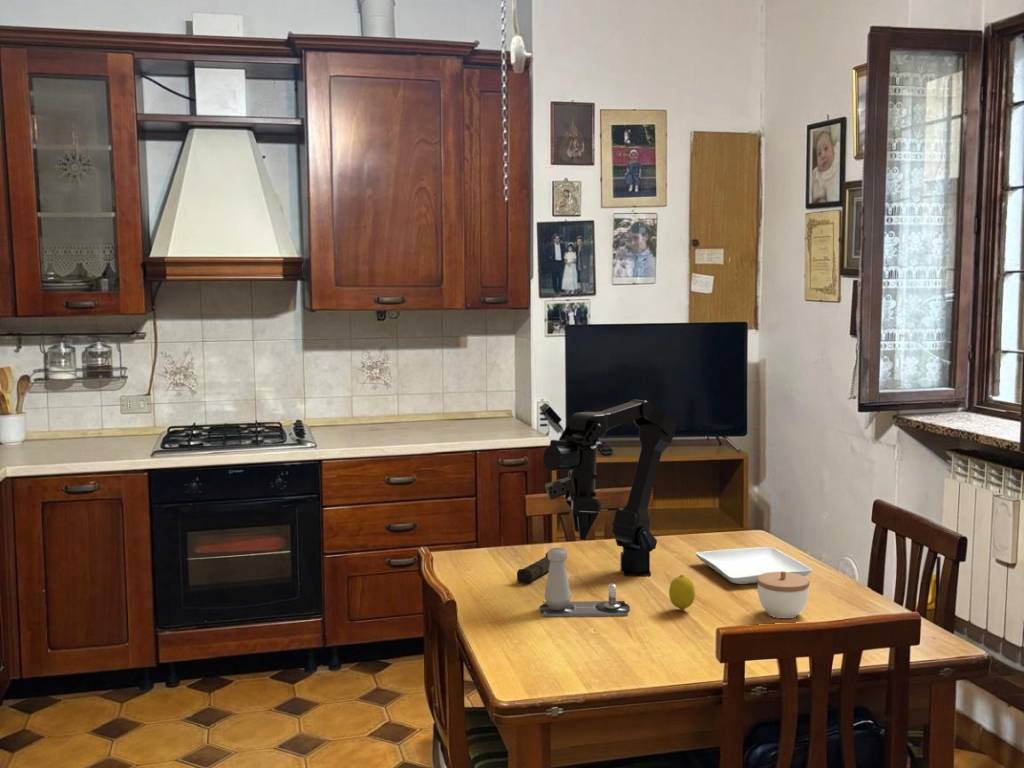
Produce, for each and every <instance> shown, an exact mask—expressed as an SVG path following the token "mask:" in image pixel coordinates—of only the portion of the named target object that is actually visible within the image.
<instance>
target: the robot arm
mask: <svg viewBox="0 0 1024 768" xmlns="http://www.w3.org/2000/svg"><path fill="white" fill-rule="evenodd" d="M632 421H633V423H634V424H635V426H636V427H638V428H639V431H638V438H639V442H640V447H641V450H640V454H639V457H638V460H637V465H636V469H635V472H634V476H633V480H632V484H631V488H630V491H629V495H628V500H627V503H626V505H625V506H624V507H623V508H621V509H617V510H616V511H615V514H614V520H613V522H612V523H611V526H612V534H613V536H614V539H615V542H616V546H618V547H622V551H621V552H620V557H619V558H620V560H619V561H620V571H621V572H622V574H623V576H625V577H626V576H629V577H631V576H634V577H635V576H636V577H637V576H651V575H652V572H651V569H650V568H651V565H650V564H651V563H650V562H651V561H650V560H651V559H650V558H651V553H650V552H653V550H655V549H656V548H657V543H658V540H657V539H656V537H655V536H654V535H653V534H652V533H651V532H650V527H651V520H650V516H649V513H648V508H649V503H650V499H651V496H652V491H653V488H654V484H655V482H656V481H655V479H656V477H657V473H658V469H659V465H660V462H661V457H662V454H663V452H664V451H665V450H666V449H667V448H668V447H669V446H670V445H671V443H672V442H673V441H672V440H673V438H674V437H675V433H676V429H677V428H676V427H677V424H676V423H675V420H674V419H673V417H671V416H668V414H666V413H665V412H664V411H661V410H659V409H658V408H657V407H654V405H653V404H652V403H651V402H649V401H647V400H642V399H632V400H630V401H628V402H626V403H622V404H618V405H616V406H612V407H609V408H607V409H604V410H601V411H582V412H575V413H573V414H572V415H571V417H570V420H568V422H567V424H566V426H565V428H564V430H563V431H562V433H561V435H560V437H559V439H558V440H557V439H551V440H550V445H548V446H547V447H546V448H545V450H544V453H543V464H544V465H545V467H546V469H547V470H549V471H552V472H553V471H565V470H569V471H568V474H567V477H564V478H560V479H556V480H553V481H551V482H547V483H545V485H544V487H545V490H546V493H547V496H548V498H549V500H551V501H552V500H556V499H557V498H560V497H562V496H563V498H564V501H565V502H566V503H567V505H568V506H569V507H570V509H571V515H572V521H573V528H574V531H575V532H576V533H577V532H578V535H579V540H581V541H585V540H586V538H587V537H588V535H589V532H590V531H591V529H592V526H593V524H594V522H595V520H596V519H597V517H598V516H599V514H600V512H601V507H602V503H601V502H600V500H598V498H597V492H596V480H598V474H597V453H598V449H604V448H605V446H604V444H603V443H602V441H600V438H602V437H604V436H605V435H606V434H607V433H608V431H609V430H610V429H612V428H615V427H617V426H621V425H624V424H626V423H629V422H632Z"/></svg>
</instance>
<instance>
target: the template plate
mask: <svg viewBox="0 0 1024 768" xmlns="http://www.w3.org/2000/svg"><path fill="white" fill-rule="evenodd" d="M606 602H609V600H589V601H588V600H587V601H586V600H585V601H583V600H582V601H579V600H577V601H574V600H573V601H570V602H569V604H568V606H567V609H563V610H551V609H550V608H549V607H548V605H547V603H546V601H543V602H542V604H541V605H540V606H539V612H540V613H541V614H543V617H544V618H545V617H546V618H547V617H548V618H551V617H555V618H557V617H563V618H565V617H628V616H629V612H630V611H631V606H630V605H629V604H628V603H625V600H616V602H618V603H620V604H621V608H619V609H616V610H609V609H606V608H604V603H606Z"/></svg>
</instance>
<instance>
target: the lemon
mask: <svg viewBox="0 0 1024 768" xmlns="http://www.w3.org/2000/svg"><path fill="white" fill-rule="evenodd" d="M668 595H669V600H670V602H671V604H672V605H673V606H674V607H675V608H678V609H679V610H680V611H682V612H683V611H684V610H686V609H687V608H689V607H691V606H692V604H693V603H694V601H695V598H696V589H695V585H694V582H693V581H692V580H691V579H690V578H689V577H688V576H685V575H684V574H680V575H678V576H676V577H675V578H674V579H672V580H671V582H670V585H669V590H668Z"/></svg>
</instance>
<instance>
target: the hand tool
mask: <svg viewBox="0 0 1024 768" xmlns="http://www.w3.org/2000/svg"><path fill="white" fill-rule="evenodd" d="M547 554H548V551H547V552H546V553H545V556H544V557H543V558H541V559H540V560H539V559H538V560H537V561H535V562H534V563H532V564H530V565H528V566H526V567H524V568H520V569H517V573H516V580H517V582H518V584H521V583H523V584H522V585H531V583H533V582H534V580H536V579H537V578H539V577H541V576H543V575H545V574H546V573H548V572H549V566H550V560H548V556H547Z"/></svg>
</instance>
